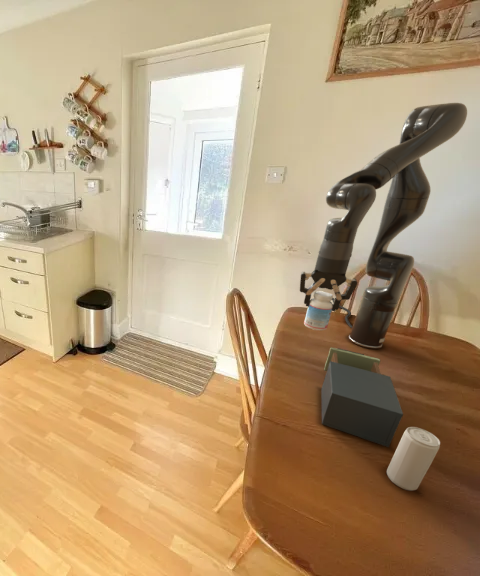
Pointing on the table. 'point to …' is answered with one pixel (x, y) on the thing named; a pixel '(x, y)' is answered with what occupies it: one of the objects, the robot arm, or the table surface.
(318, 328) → the pill bottle
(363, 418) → the cabinet
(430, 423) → the table surface
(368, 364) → the drawer
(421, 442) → the beverage can
